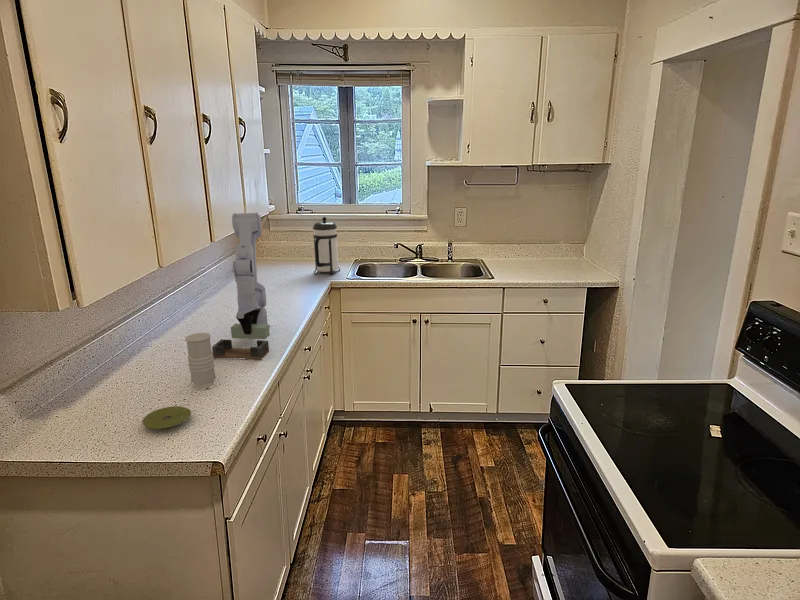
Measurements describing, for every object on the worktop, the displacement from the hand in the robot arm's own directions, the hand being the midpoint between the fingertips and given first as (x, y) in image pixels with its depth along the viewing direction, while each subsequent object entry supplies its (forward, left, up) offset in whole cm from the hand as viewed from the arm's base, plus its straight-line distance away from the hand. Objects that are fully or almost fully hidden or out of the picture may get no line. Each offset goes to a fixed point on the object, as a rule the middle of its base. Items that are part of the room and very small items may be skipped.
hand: (250, 331), depth 183 cm
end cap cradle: (+9, 0, -5) cm, 10 cm away
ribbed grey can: (+32, -2, -5) cm, 33 cm away
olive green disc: (+54, -1, -5) cm, 54 cm away
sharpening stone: (0, 0, -2) cm, 2 cm away
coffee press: (-107, +1, -5) cm, 107 cm away
